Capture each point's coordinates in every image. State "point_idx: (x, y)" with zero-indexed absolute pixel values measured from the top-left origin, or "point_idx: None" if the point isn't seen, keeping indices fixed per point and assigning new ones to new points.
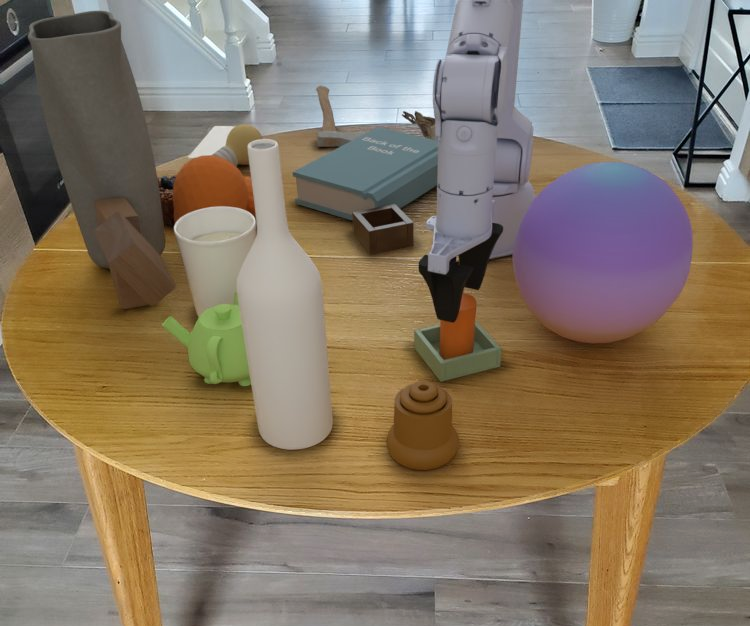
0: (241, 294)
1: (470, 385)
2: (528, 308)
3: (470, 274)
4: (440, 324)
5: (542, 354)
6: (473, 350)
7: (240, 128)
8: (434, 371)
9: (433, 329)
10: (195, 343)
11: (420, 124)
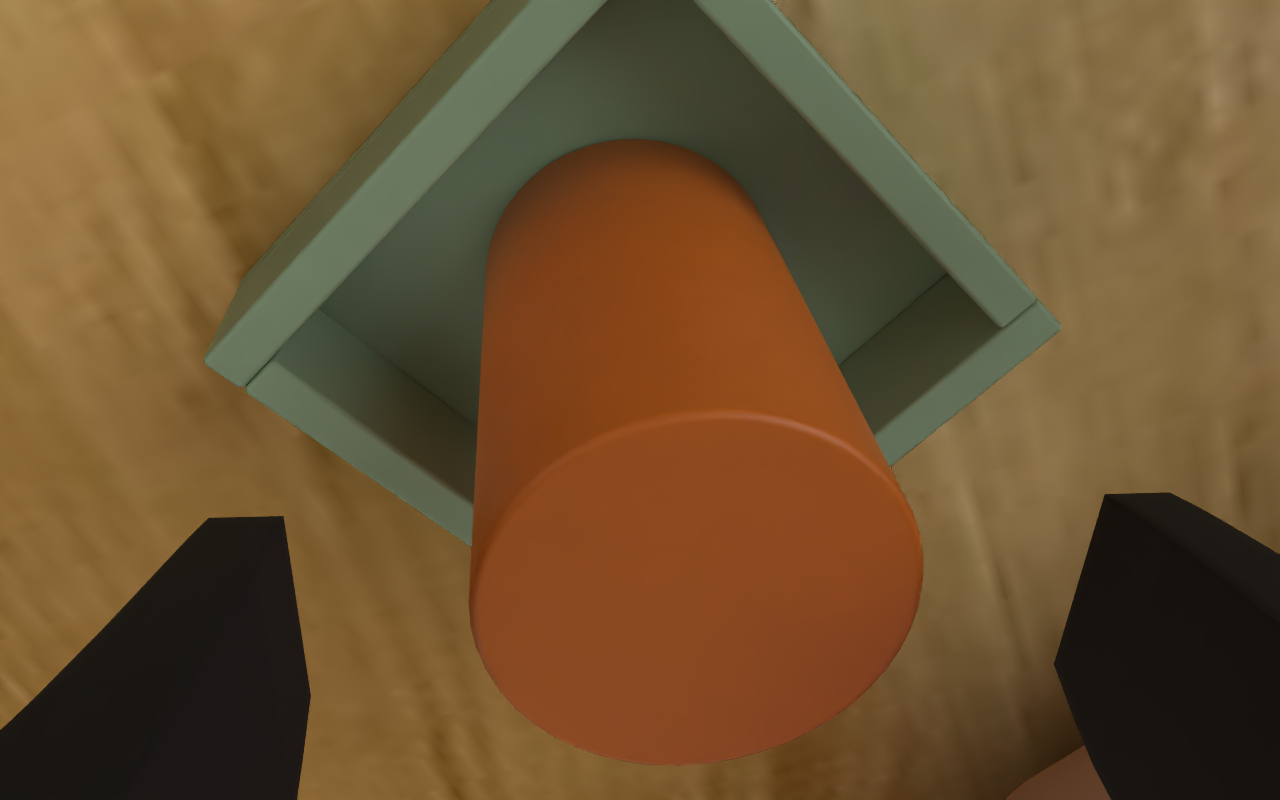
0: None
1: (324, 473)
2: (1099, 787)
3: (1183, 718)
4: (573, 288)
5: (856, 708)
6: None
7: None
8: (313, 202)
9: (755, 63)
10: None
11: None
